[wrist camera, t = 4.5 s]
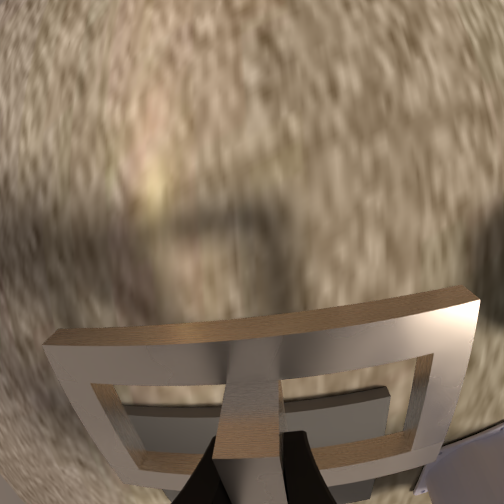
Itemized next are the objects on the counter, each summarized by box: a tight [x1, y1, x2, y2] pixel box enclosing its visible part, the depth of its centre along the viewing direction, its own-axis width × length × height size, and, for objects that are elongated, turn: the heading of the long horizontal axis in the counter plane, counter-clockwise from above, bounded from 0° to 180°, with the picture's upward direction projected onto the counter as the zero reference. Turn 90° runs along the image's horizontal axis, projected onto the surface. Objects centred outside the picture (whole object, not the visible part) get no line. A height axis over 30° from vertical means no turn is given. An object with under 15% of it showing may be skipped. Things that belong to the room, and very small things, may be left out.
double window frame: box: [42, 285, 480, 504], centre depth 9 cm, size 14×8×4 cm, turn 98°
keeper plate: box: [123, 387, 391, 504], centre depth 19 cm, size 18×14×3 cm
